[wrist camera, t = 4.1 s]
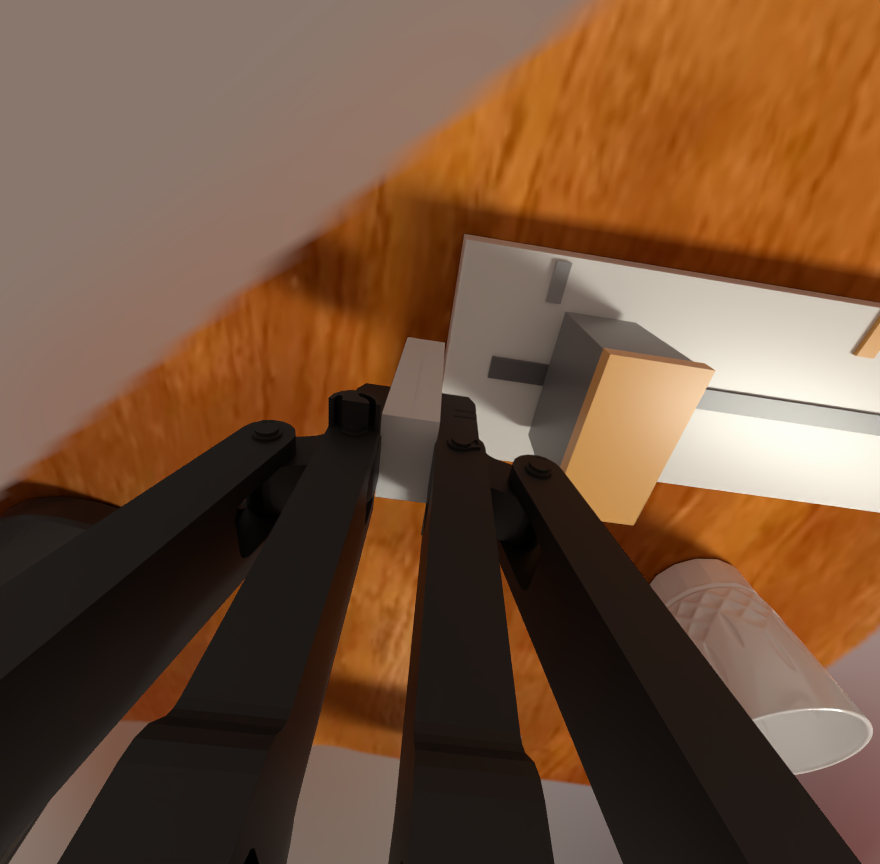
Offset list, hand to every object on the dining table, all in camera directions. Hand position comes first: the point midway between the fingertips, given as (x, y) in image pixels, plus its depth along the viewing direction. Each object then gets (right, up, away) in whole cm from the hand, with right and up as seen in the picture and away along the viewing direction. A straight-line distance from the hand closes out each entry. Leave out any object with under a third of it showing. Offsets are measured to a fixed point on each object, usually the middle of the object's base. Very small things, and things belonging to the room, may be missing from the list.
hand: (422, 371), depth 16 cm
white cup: (+20, -14, +14) cm, 28 cm away
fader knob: (+7, 0, +2) cm, 7 cm away
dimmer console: (+15, 0, +5) cm, 16 cm away
